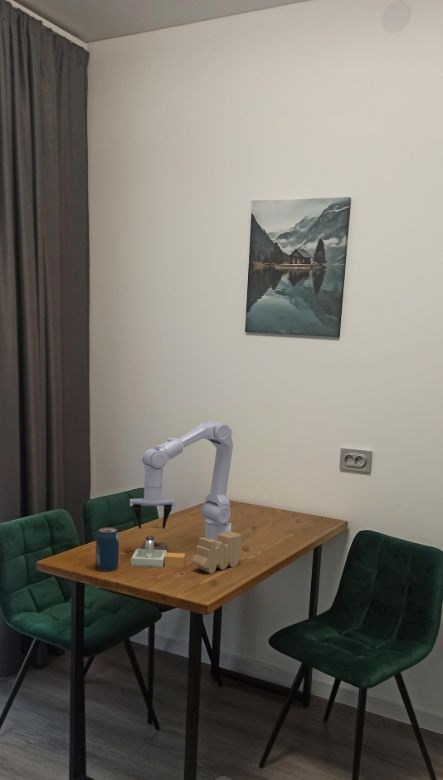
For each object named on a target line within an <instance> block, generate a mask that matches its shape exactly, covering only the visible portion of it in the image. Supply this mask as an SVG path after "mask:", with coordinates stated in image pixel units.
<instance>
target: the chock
mask: <svg viewBox="0 0 443 780" xmlns="http://www.w3.org/2000/svg"><path fill="white" fill-rule="evenodd" d="M185 564H186V553H183V552H182V553H181V552H180V553H178V552H167V553H166V555H165V563H164V568H179V569H184V568H185Z"/></svg>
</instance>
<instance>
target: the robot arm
mask: <svg viewBox="0 0 443 780" xmlns="http://www.w3.org/2000/svg"><path fill="white" fill-rule="evenodd" d="M232 435H233V430H232V428H231V427H230V426H229V425H228V423H225V422H217V421H212V420H209V419H207V420H205V421H203V422H201V423H199V424H198V426H196V427H194V428H193V429H191V430H190V431H188V432H187V433H185V434H184V435H182V436H180V437H179V438H176V437H169V438H167V440H166V441H164V442H163V443H162V444H157V445H156V446H155V448H149V449H147V450H146V451H145V452H143V456H142V457H141V462H142V464H143V465H144V485H143V486H144V488H143V490H144V491H143V498H142V497H141V498H140V497H139V498H130V499H129V507H133V511H134V514H135V517H136V520H137V523H138V524H137V526H138V529H142V521H141V520H142V517H141V516H142V506H143V507H145V506H146V507H149V506H150V507H154V506H155V507H163V518H162V529H163V530H165V529H166V524H167V521H168V518H169V515H170V514H171V511H172V507H174V508H175V507H176V499H172V498H162V497H163V475H164V473H163V472H164V467H166V465H167V462H169V460H172V459H174V458H175V457H177V456H179V455H180V454H181V455H182V453H183V450H184V448H186V447H187V446H190V445H192V444H194V443H197V442H198V441H200V440H203V439H204V440H205V439H206V440H208V441H209V442H211V444H212V445H213V447H214V448H216V451H215V456H214V457H215V459H214V465H213V472H212V477H211V485H210V493H209V494H208V495H206V496H205V497H204V498H205V499H204V503H203V504H202V506H201V510H200V511H201V515H202V517H203V518H204V538H207V539H214V540H217V538H218V534H219V533H224V532H229V531H231V532H232V522H229V520H230V518H231V514H232V513H231V507H230V505H231V502H230V500H229V498H228V496H227V489H228V483H229V477H230V468H231V463H232V455H233V450H234V449H233V448H234V443H233V438H232Z"/></svg>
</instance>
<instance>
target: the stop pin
mask: <svg viewBox="0 0 443 780" xmlns="http://www.w3.org/2000/svg"><path fill="white" fill-rule="evenodd" d="M145 541H146V550H145V558H153V556H154V541H155V537H154V535H153V536H151V535H148V536H145Z"/></svg>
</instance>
